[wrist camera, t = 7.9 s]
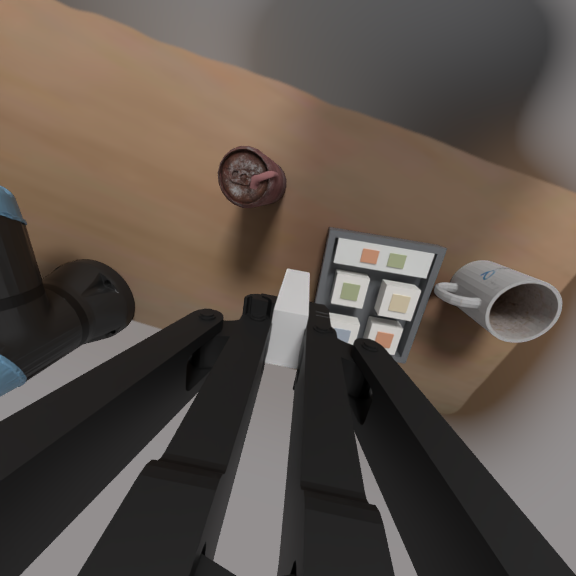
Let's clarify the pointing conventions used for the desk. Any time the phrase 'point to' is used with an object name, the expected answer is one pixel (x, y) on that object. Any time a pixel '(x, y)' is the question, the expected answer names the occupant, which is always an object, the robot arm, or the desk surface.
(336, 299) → the key olive
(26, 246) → the robot arm
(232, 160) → the can
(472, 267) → the mug
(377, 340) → the key rust
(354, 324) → the key slate
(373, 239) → the keypad
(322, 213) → the desk surface
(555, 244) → the desk surface
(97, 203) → the desk surface
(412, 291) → the key sand
